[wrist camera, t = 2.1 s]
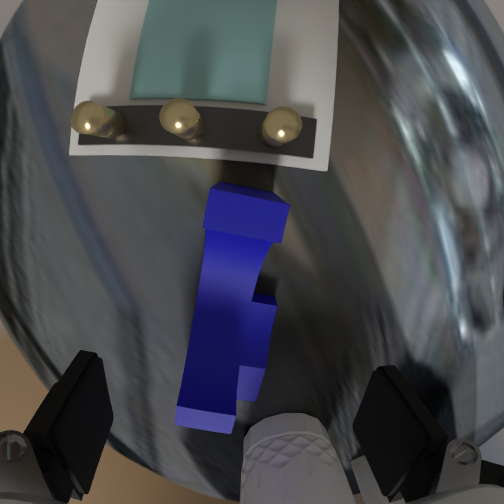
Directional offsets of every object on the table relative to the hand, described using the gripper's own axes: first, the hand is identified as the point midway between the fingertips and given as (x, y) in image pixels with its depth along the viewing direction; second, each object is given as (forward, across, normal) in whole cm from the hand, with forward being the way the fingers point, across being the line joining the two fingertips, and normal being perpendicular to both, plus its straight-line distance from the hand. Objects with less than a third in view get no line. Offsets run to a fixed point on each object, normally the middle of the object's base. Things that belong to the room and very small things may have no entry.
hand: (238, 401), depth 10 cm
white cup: (+10, -5, +13) cm, 17 cm away
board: (+9, +3, -17) cm, 19 cm away
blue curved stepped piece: (+10, 0, 0) cm, 10 cm away
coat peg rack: (+8, +3, -9) cm, 12 cm away
